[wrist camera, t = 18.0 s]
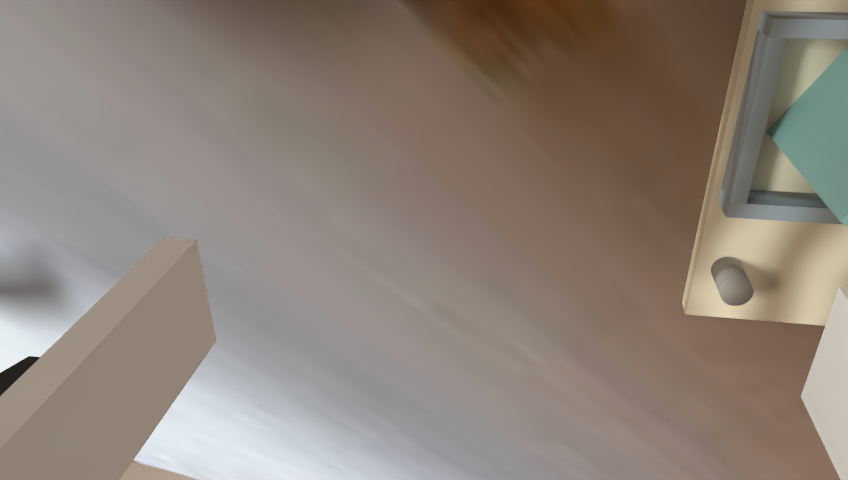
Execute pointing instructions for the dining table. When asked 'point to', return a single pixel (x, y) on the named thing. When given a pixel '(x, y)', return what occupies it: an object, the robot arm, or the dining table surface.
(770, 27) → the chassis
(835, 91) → the pale green upright block
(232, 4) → the dining table surface
